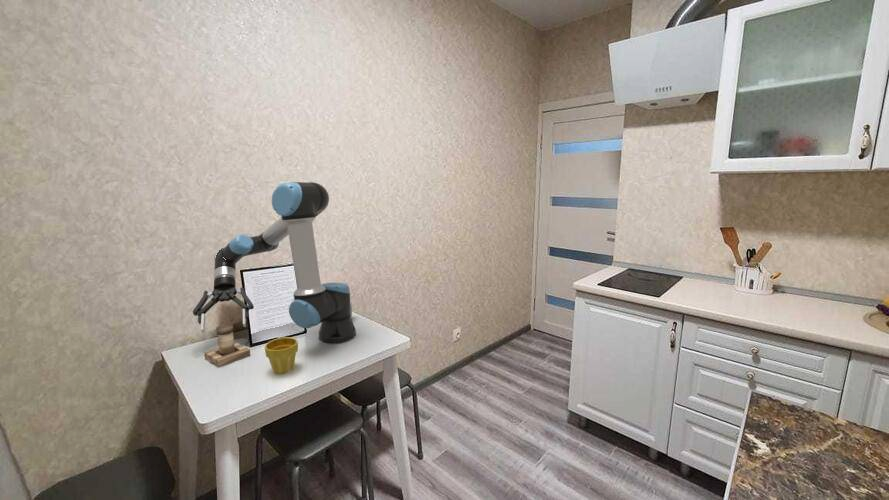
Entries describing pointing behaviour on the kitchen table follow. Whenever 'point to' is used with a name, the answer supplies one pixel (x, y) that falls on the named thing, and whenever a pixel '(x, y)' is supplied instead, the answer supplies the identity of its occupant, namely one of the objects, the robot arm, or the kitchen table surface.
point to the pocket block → (232, 357)
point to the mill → (225, 339)
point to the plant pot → (282, 354)
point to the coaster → (241, 341)
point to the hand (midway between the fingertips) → (223, 328)
